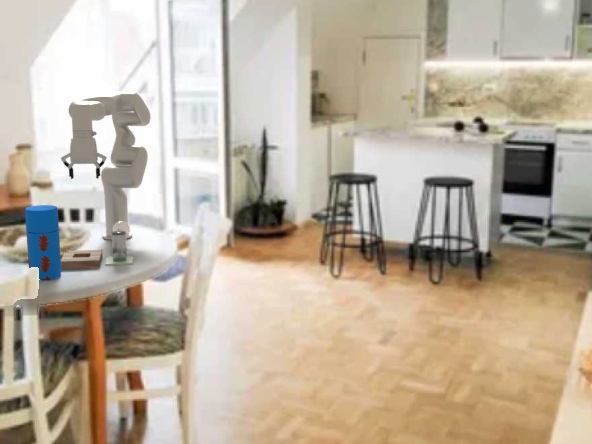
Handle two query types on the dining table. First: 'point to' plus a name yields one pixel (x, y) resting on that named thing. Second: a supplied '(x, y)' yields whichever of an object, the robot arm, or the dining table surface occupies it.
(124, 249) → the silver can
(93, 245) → the dining table surface
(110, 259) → the pad
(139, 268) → the dining table surface
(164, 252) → the dining table surface
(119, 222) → the light bulb
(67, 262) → the block
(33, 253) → the thermos
